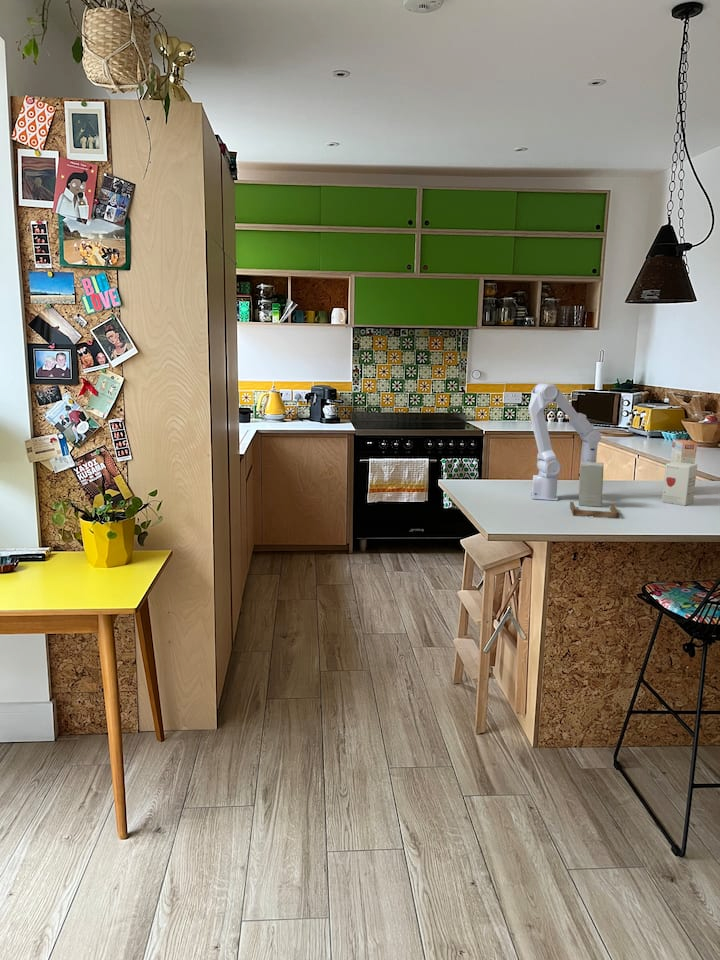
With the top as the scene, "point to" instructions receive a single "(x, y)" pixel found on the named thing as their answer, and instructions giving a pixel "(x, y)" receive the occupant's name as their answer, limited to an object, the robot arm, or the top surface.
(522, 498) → the top surface
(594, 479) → the skincare box
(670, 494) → the supplement box
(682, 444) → the cracker box
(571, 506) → the walnut bay
